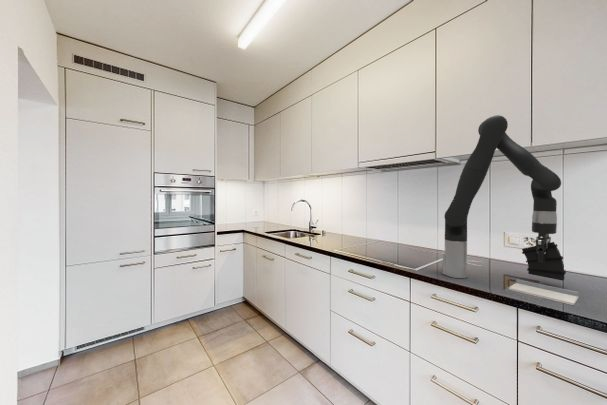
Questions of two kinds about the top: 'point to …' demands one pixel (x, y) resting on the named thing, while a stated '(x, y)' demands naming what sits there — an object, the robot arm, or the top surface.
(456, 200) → the robot arm
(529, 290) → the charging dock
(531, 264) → the magazine
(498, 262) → the top surface
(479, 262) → the pliers
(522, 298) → the top surface
